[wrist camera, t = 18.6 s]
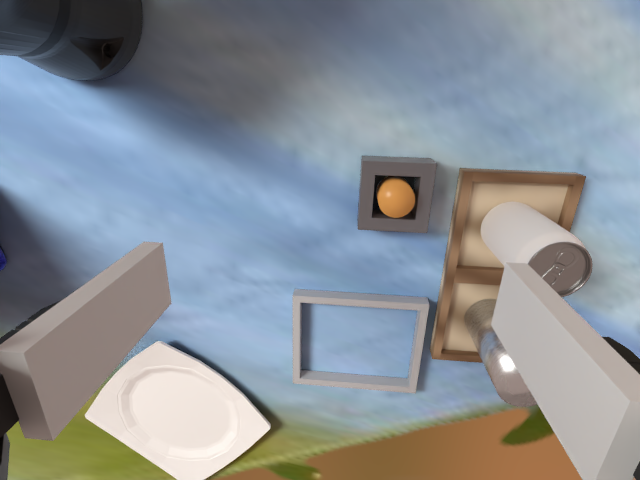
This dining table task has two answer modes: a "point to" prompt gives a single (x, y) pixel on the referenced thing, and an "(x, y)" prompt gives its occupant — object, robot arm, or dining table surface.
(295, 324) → the grey rectangular frame
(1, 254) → the lunch bag
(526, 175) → the divided wooden tray
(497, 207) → the can
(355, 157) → the dining table surface
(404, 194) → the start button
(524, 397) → the billet
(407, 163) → the grey square egg holder
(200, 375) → the plate
